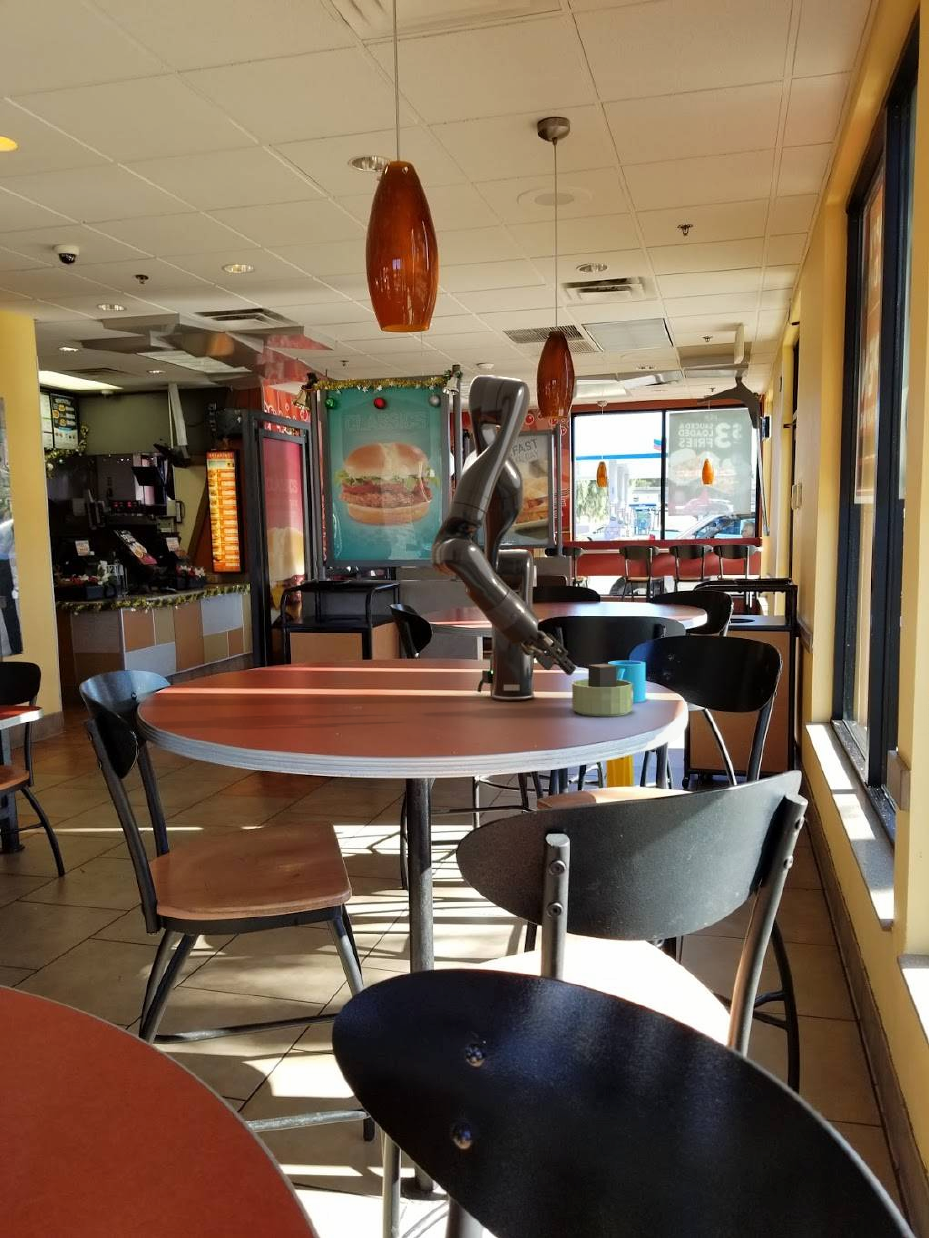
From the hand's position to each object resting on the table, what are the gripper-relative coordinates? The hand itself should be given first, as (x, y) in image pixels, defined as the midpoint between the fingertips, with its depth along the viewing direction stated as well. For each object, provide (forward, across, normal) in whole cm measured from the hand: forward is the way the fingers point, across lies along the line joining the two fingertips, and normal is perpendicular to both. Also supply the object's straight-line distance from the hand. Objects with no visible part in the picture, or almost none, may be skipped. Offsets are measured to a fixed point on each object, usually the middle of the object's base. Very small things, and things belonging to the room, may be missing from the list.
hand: (561, 669), depth 185 cm
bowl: (+14, 0, 0) cm, 14 cm away
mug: (+22, +9, -8) cm, 25 cm away
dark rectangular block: (+13, 0, 0) cm, 13 cm away
